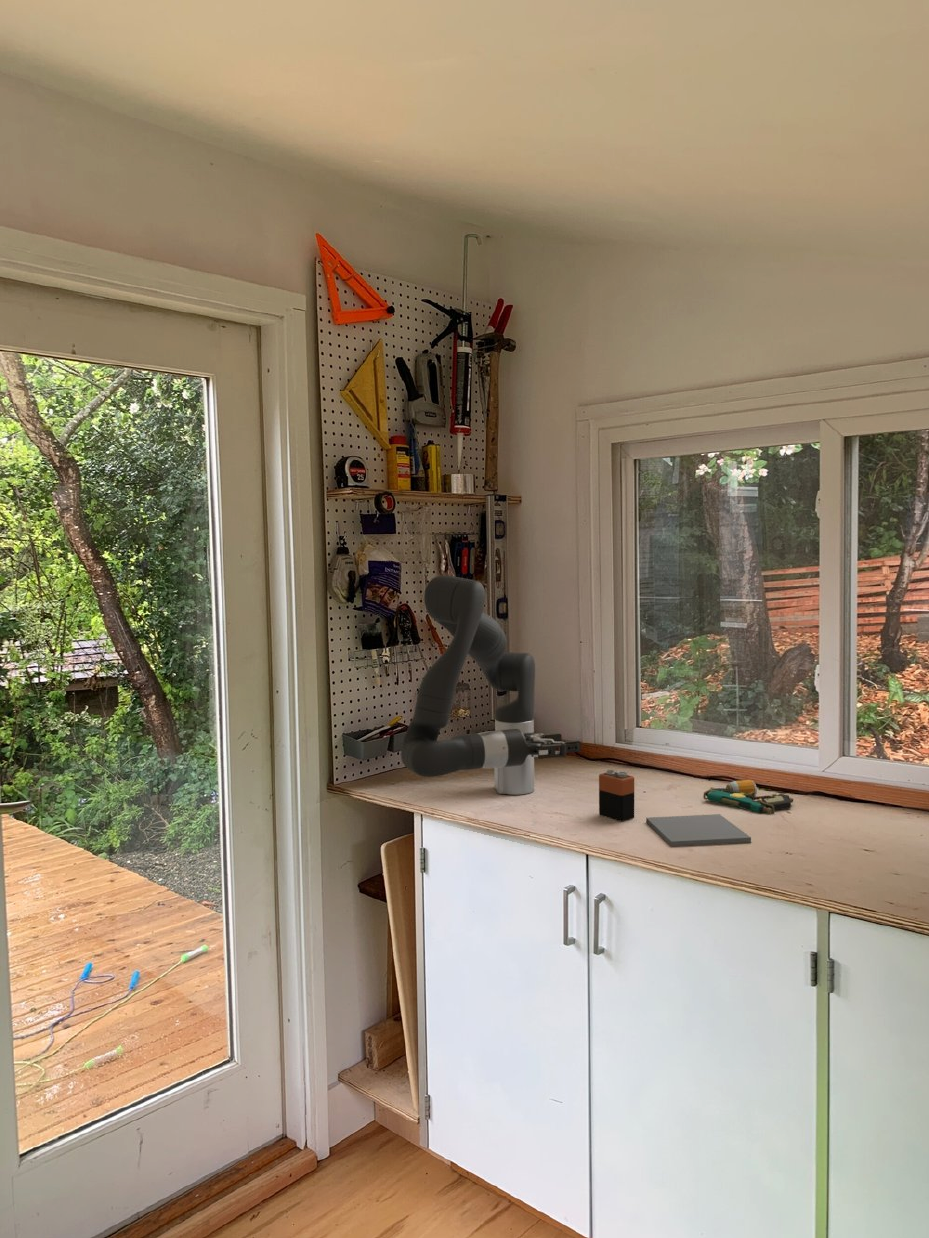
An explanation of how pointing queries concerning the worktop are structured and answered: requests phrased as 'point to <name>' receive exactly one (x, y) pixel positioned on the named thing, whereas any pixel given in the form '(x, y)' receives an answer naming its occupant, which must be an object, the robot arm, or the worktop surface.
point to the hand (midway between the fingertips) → (570, 742)
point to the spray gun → (747, 797)
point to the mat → (697, 830)
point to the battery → (616, 795)
